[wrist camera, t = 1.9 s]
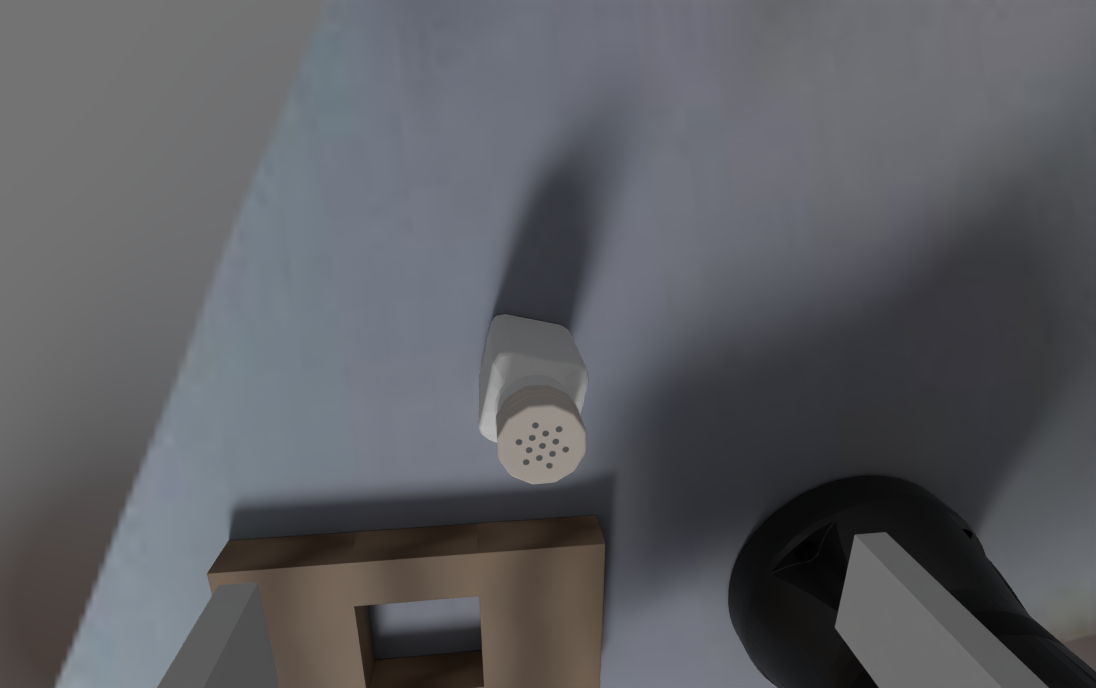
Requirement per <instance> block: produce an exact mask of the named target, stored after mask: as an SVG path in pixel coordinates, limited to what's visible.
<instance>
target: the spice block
mask: <svg viewBox="0 0 1096 688" xmlns="http://www.w3.org/2000/svg"><path fill="white" fill-rule="evenodd" d="M604 565H605V541H604V538H603V535H602V532H601V528H600V525H599V522H598V519H597V516H596V515H591V516H576V517H562V518H548V519H534V520H519V521H505V522H491V523H476V524H462V525H448V526H433V527H419V528H405V529H390V530H376V531H362V532H347V533H333V534H319V535H304V536H290V537H276V538H261V539H247V540H233V541H228V542H227V544H226V545H225V547H224V548H223V550H222V551H221V553H220V555H219V556H218V558H217V559H216V561H215V562H214V564H213V565H212V567H211V568H210V570H209V571H208V573H207V576H208V580H209V584H210V588H211V592H212V595H213V594H214V592H215V590H216V589H217V587H218V585H228V584H241V583H253V582H258V585H259V590H260V595H261V599H262V604H263V609H264V613H265V618H266V622H267V627H268V632H269V636H270V641H271V645H272V650H273V655H274V659H275V664H276V669H277V673H278V678H279V684H278V687H277V688H600V672H601V645H602V619H603V592H604ZM473 596H479V599H480V618H481V637H482V651H471V652H460V653H449V654H439V655H428V656H417V657H406V658H396V659H385V660H375V654H374V646H373V639H372V632H371V624H370V617H369V609H368V605H376V604H388V603H401V602H413V601H425V600H437V599H449V598H461V597H473Z"/></svg>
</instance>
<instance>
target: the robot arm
mask: <svg viewBox="0 0 1096 688" xmlns="http://www.w3.org/2000/svg"><path fill="white" fill-rule="evenodd" d="M728 605H729V613H730V618H731V621H732V624H733V626H734V629H735V631H736V633H737V635H738V637H739V638H740V640H741V642H742V644H743V646H744V648H745V650H746V652H747V654H748V655H749V657H750V659H751V661H752V662H753V663H754V665H755V666H756V668H757V669H758V670H759V671H760V672H761V674H762V675H763V676H764V677H765V678H766V679H768V680H769V681H770V682H771V683H773V684H774V685H775V686H776V687H778V688H1096V672H1095V671H1094V670H1093V669H1092V668H1091V667H1089V666H1088V665H1087V664H1086V663H1085V662H1083V661H1082V660H1081V659H1080V658H1079V657H1078V656H1076V655H1075V654H1074V653H1073V652H1071V651H1070V650H1069V649H1068V648H1067V647H1065V646H1064V645H1063V644H1062V643H1061V642H1060V641H1059V640H1057V639H1056V638H1055V637H1054V636H1053V635H1051V634H1050V633H1049V632H1048V631H1047V630H1046V629H1044V628H1043V627H1042V626H1041V625H1040V624H1039V623H1037V622H1036V621H1035V620H1034V619H1033V618H1032V617H1031V616H1030V615H1029V614H1028V613H1027V611H1026V610H1025V608H1024V607H1023V605H1022V604H1021V602H1020V601H1019V599H1018V598H1017V596H1016V595H1015V593H1014V592H1013V590H1012V589H1011V587H1010V586H1009V585H1008V583H1007V582H1006V580H1005V579H1004V578H1003V576H1002V575H1001V574H1000V572H999V571H998V570H997V568H996V567H995V566H994V565H993V564H992V563H991V561H990V560H989V559H988V558H987V557H986V555H985V552H984V549H983V547H982V545H981V543H980V541H979V539H978V538H977V536H976V535H975V533H974V532H973V530H972V529H971V527H970V526H969V525H968V524H967V523H966V522H965V521H964V520H963V519H962V518H961V517H960V516H959V515H958V514H957V513H956V512H955V511H953V510H952V509H951V508H949V507H948V506H947V505H945V504H944V503H943V502H942V501H940V500H939V499H938V498H936V497H935V496H934V495H932V494H931V493H930V492H928V491H927V490H925V489H924V488H922V487H920V486H918V485H916V484H914V483H911V482H909V481H905V480H902V479H898V478H893V477H885V476H862V477H854V478H848V479H844V480H839V481H836V482H832V483H829V484H826V485H823V486H821V487H818V488H816V489H814V490H811V491H809V492H807V493H805V494H803V495H801V496H800V497H798V498H796V499H795V500H793V501H791V502H790V503H788V504H787V505H785V506H784V507H783V508H781V509H780V510H779V511H777V512H776V513H775V514H774V515H773V516H772V517H770V518H769V519H768V520H767V521H766V522H765V523H764V524H763V525H762V526H761V527H760V528H759V530H758V531H757V532H756V533H755V534H754V536H753V537H752V538H751V539H750V541H749V542H748V544H747V545H746V547H745V548H744V550H743V552H742V553H741V555H740V557H739V559H738V561H737V563H736V566H735V568H734V571H733V574H732V578H731V581H730V587H729V596H728ZM278 684H279V678H278V673H277V669H276V664H275V659H274V655H273V650H272V645H271V641H270V636H269V632H268V627H267V622H266V618H265V613H264V609H263V604H262V599H261V595H260V590H259V585H258V582H253V583H241V584H228V585H218V587H217V589H216V590H215V592H214V594H213V595H212V597H211V599H210V600H209V602H208V604H207V605H206V607H205V609H204V610H203V612H202V614H201V615H200V617H199V619H198V620H197V622H196V624H195V625H194V627H193V629H192V630H191V632H190V634H189V635H188V637H187V639H186V640H185V642H184V644H183V645H182V647H181V649H180V650H179V652H178V654H177V655H176V657H175V659H174V661H173V662H172V664H171V666H170V667H169V669H168V671H167V672H166V674H165V676H164V677H163V679H162V681H161V682H160V684H159V686H158V687H157V688H277V687H278Z"/></svg>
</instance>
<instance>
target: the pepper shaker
mask: <svg viewBox="0 0 1096 688" xmlns="http://www.w3.org/2000/svg"><path fill="white" fill-rule="evenodd" d="M588 381H589V378H588V373H587V368H586V366H585V363H584V361H583V359H582V357H581V355H580V353H579V351H578V349H577V347H576V345H575V343H574V341H573V338H572V336H571V334H570V332H569V330H568V329H566V328H565V327H563V326H562V325H558V324H553V323H548V322H543V321H538V320H533V319H528V318H523V317H517V316H512V315H507V314H503V315H498V316H495V318H494V319H493V320H492V322H491V323H490V328H489V332H488V337H487V342H486V347H485V351H484V356H483V361H482V365H481V370H480V375H479V428H480V432H481V434H482V435H484V436H485V437H486V438H488V439H489V440H490V441H494V442H497V445H498V459H499V460H500V462H501V463H502V464H503V466H504V467H505V468H506V469H507V471H508V472H509V473H510V475H511V476H513V477H515V478H518V479H520V480H523V481H525V482H528V483H530V484H542V483H553V482H557V481H558V480H560V479H562V478H563V477H565V476H567V475H568V474H570V473H572V472H573V471H575V469H576V468H577V466H578V464H579V463H580V461H581V459H582V458H583V456H584V454H585V453H586V429H585V426H584V424H583V421H582V418H581V416H580V415H581V411H582V407H583V403H584V399H585V395H586V390H587V386H588Z"/></svg>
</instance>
